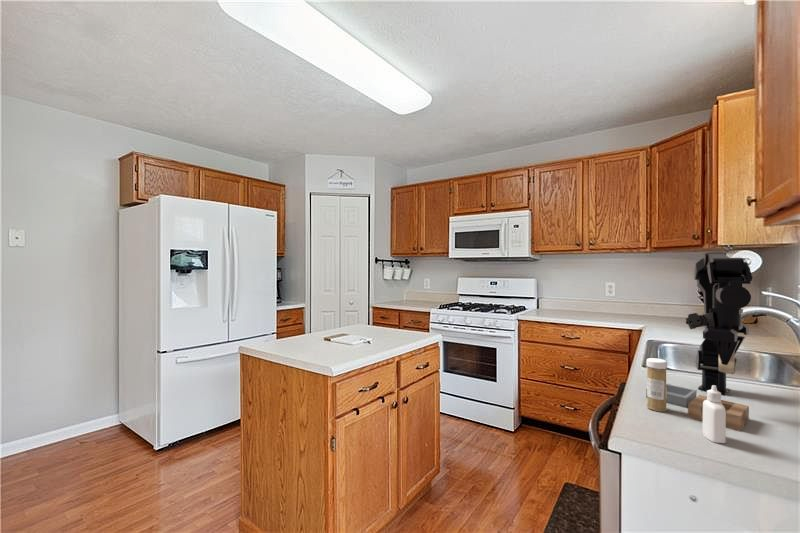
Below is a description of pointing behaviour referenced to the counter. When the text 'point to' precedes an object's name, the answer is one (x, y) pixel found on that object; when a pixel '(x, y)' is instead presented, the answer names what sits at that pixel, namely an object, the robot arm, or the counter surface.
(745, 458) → the counter surface
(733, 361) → the beige wooden peg
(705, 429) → the eye dropper bottle
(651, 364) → the sprinkles bottle
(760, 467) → the counter surface
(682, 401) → the gray square tray
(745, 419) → the brown square frame
